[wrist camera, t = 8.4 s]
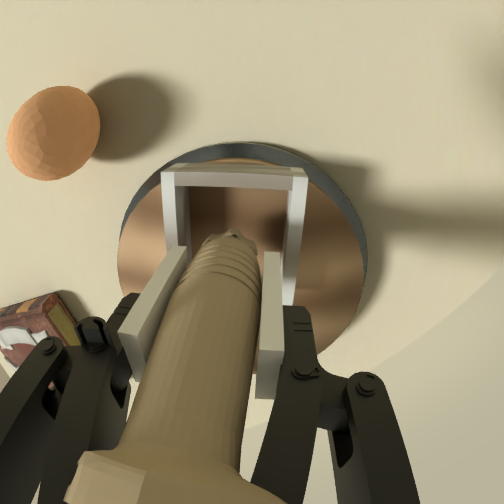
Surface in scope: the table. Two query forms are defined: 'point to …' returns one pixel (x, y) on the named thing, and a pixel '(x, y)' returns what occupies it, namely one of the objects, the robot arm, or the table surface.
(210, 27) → the table surface
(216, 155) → the base
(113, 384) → the robot arm
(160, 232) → the dial
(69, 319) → the book
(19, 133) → the egg
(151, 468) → the handle
